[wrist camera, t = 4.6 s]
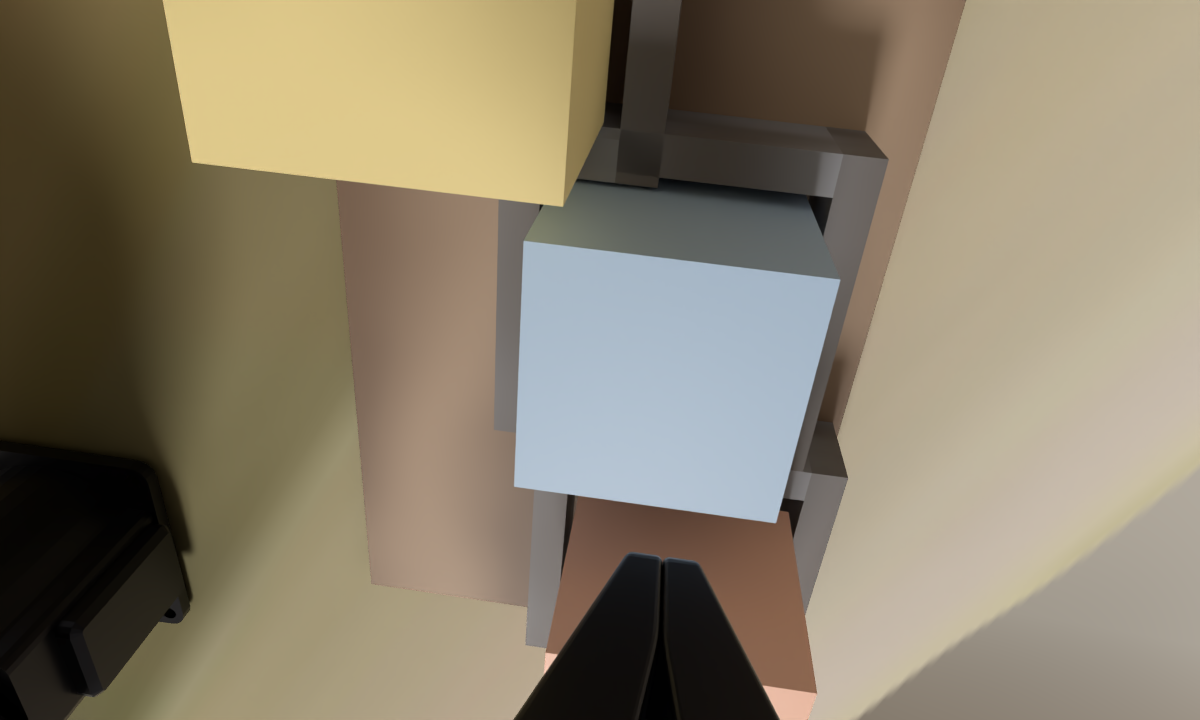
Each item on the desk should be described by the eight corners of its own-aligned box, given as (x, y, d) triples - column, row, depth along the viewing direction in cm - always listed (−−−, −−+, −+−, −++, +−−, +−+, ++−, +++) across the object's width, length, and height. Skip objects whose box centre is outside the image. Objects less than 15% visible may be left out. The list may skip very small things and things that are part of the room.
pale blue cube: (555, 359, 18) (513, 486, 14) (569, 158, 16) (523, 241, 12) (757, 385, 18) (775, 522, 14) (801, 186, 16) (840, 279, 11)
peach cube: (567, 626, 20) (533, 807, 16) (581, 483, 18) (545, 652, 14) (750, 653, 20) (763, 844, 16) (788, 512, 17) (817, 693, 13)
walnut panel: (378, 569, 24) (342, 641, 22) (309, -291, 14) (225, -339, 11) (774, 627, 23) (783, 709, 21) (1021, -229, 13) (1097, -265, 10)
